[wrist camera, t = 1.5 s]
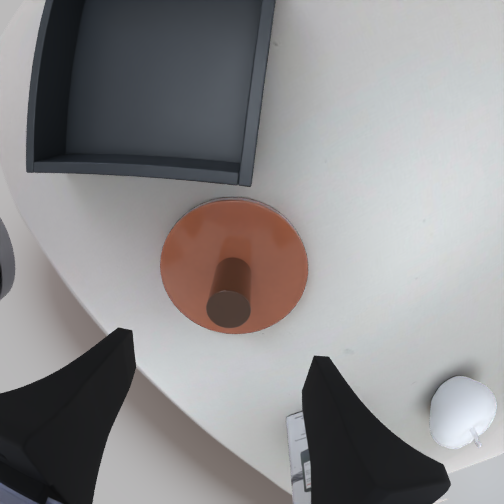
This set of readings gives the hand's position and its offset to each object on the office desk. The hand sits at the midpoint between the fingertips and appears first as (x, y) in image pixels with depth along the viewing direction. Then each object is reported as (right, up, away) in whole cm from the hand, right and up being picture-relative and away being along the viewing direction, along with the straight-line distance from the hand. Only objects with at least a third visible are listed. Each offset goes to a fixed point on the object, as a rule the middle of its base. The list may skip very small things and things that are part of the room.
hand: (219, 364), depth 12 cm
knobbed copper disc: (0, +3, +8) cm, 9 cm away
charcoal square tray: (-4, +15, +3) cm, 16 cm away
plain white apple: (+21, -9, +13) cm, 26 cm away
